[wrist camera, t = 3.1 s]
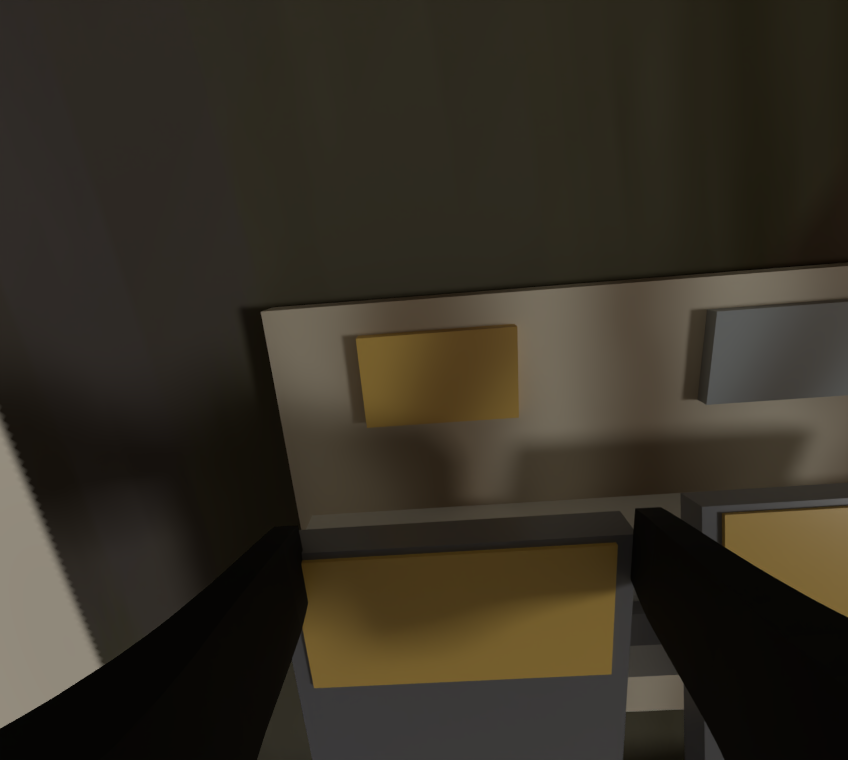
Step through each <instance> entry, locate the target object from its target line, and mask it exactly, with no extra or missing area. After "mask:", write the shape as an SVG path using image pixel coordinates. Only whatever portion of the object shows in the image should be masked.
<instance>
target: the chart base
mask: <svg viewBox="0 0 848 760" xmlns="http://www.w3.org/2000/svg"><path fill="white" fill-rule="evenodd" d="M261 316H262V321H263V327H264V332H265V338H266V343H267V348H268V354H269V359H270V364H271V370H272V375H273V381H274V386H275V391H276V397H277V402H278V407H279V413H280V418H281V424H282V429H283V434H284V440H285V445H286V450H287V456H288V461H289V467H290V472H291V477H292V483H293V488H294V493H295V499H296V504H297V510H298V515H299V520H300V526H301V530H306V528H307V526H308V524H309V521H310V519H311V517H312V515H325V514H342V513H358V512H375V511H391V510H407V509H424V508H440V507H456V506H473V505H489V504H506V503H522V502H538V501H555V500H571V499H588V498H604V497H620V496H637V495H653V494H669V493H686V492H702V491H719V490H735V489H751V488H768V487H784V486H800V485H817V484H833V483H848V263H835V264H822V265H809V266H797V267H784V268H771V269H758V270H746V271H733V272H720V273H707V274H695V275H682V276H669V277H656V278H643V279H631V280H618V281H605V282H592V283H580V284H567V285H554V286H541V287H529V288H516V289H503V290H490V291H478V292H465V293H452V294H439V295H426V296H414V297H401V298H388V299H375V300H363V301H350V302H337V303H324V304H312V305H299V306H286V307H273V308H269V309H267V310H264V311H261ZM678 709H684V683H683V682H682V680H681V678H680V676H679V675H666V676H644V677H628V686H627V702H626V712H632V711H655V710H678Z"/></svg>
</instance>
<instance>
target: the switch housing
mask: <svg viewBox="0 0 848 760" xmlns="http://www.w3.org/2000/svg"><path fill="white" fill-rule="evenodd" d="M833 484H834V483H833ZM800 486H801V485H800ZM784 487H785V486H784ZM751 489H752V488H751ZM702 492H703V491H702ZM652 507H662V508H663V509H665V510H667V511H669V512H670V513H672V514H674V515H675V516H677V517H678V518H680V519H681V498H680V493H669V494H653V495H637V496H620V497H604V498H588V499H571V500H555V501H538V502H522V503H506V504H489V505H473V506H456V507H440V508H424V509H407V510H391V511H375V512H358V513H342V514H325V515H312V517H311V519H310V521H309V524H308V526H307V528H306V530H308V529H325V528H341V527H358V526H375V525H391V524H408V523H425V522H441V521H458V520H475V519H491V518H508V517H525V516H542V515H558V514H575V513H592V512H608V511H620V512H621V513H622V514H623V516H624V517H625V518H626V520H627V521H628V522H629V524H630V525H631V526H632V528H634V516H635V508H652ZM666 675H678V673H677V671H676V669H675V668H674V666H673V664H672V662H671V661H670V659H669V657H668V655H667V653H666V652H665V650H664V648H663V646H662V645H661V643H660V641H659V639H658V637H657V636H656V634H655V632H654V630H653V629H652V627H651V625H650V623H649V621H648V619H647V617H646V615H645V613H644V611H643V608H642V606H641V604H640V601H639V599H638V597H637V594H636V592H635V589H634V591H633V607H632V623H631V639H630V655H629V671H628V677H644V676H666Z"/></svg>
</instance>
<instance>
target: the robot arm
mask: <svg viewBox="0 0 848 760" xmlns="http://www.w3.org/2000/svg"><path fill="white" fill-rule="evenodd" d="M302 551H303V548H302V544H301V539H300V534H299V529H298V526H283V527H274V528H273V529H271V530H270V531H269V532H268V533H267V534H265V535H264V536H263V537H262V538H261V539H260V540H259V541H258V542H257V543H255V544H254V545H253V546H252V547H251V548H250V549H249V550H248V551H247V552H246V553H245V554H243V555H242V556H241V557H240V558H239V559H238V560H237V561H236V562H235V563H233V564H232V565H231V566H230V567H229V568H228V569H227V570H226V571H225V572H223V573H222V574H221V575H220V576H219V577H218V578H217V579H216V580H214V581H213V582H212V583H211V584H210V585H209V586H208V587H206V588H205V589H204V590H203V591H202V592H200V593H199V594H198V595H197V596H196V597H194V598H193V599H192V600H191V601H190V602H188V603H187V604H186V605H185V606H183V607H182V608H181V609H180V610H179V611H177V612H176V613H175V614H174V615H173V616H171V617H170V618H169V619H168V620H166V621H165V622H164V623H162V624H161V625H160V626H159V627H157V628H156V629H155V630H153V631H152V632H151V633H149V634H148V635H147V636H145V637H144V638H142V639H141V640H140V641H138V642H137V643H135V644H134V645H133V646H131V647H130V648H129V649H127V650H126V651H124V652H123V653H122V654H120V655H119V656H117V657H116V658H114V659H113V660H111V661H110V662H108V663H107V664H105V665H104V666H102V667H101V668H99V669H97V670H96V671H94V672H93V673H92V674H90V675H88V676H87V677H85V678H84V679H82V680H80V681H79V682H77V683H76V684H75V685H73V686H71V687H70V688H68V689H66V690H65V691H63V692H62V693H60V694H59V695H57V696H55V697H54V698H52V699H50V700H49V701H47V702H46V703H44V704H42V705H41V706H39V707H37V708H35V709H34V710H32V711H30V712H29V713H27V714H25V715H23V716H22V717H20V718H18V719H16V720H15V721H13V722H11V723H9V724H8V725H6V726H4V727H2V728H0V760H257V757H258V754H259V751H260V748H261V745H262V742H263V739H264V735H265V732H266V730H267V727H268V724H269V721H270V718H271V716H272V713H273V710H274V707H275V705H276V702H277V699H278V696H279V694H280V691H281V688H282V685H283V682H284V680H285V677H286V674H287V671H288V669H289V666H290V663H291V660H292V657H293V655H294V652H295V649H296V646H297V643H298V640H299V637H300V634H301V632H302V627H303V623H304V619H305V615H306V611H307V606H308V598H307V593H306V587H305V582H304V576H303V571H302V565H301V563H302V561H303V560H302V554H301V553H302ZM631 582H632V584H633V587H634V589H635V592H636V594H637V597H638V599H639V601H640V604H641V606H642V608H643V611H644V613H645V615H646V617H647V619H648V621H649V623H650V625H651V627H652V629H653V630H654V632H655V634H656V636H657V637H658V639H659V641H660V643H661V645H662V646H663V648H664V650H665V652H666V653H667V655H668V657H669V659H670V661H671V662H672V664H673V666H674V668H675V669H676V671H677V673H678V675H679V676H680V678H681V680H682V682H683V683H684V685H685V687H686V689H687V690H688V692H689V694H690V696H691V697H692V699H693V701H694V703H695V704H696V706H697V708H698V710H699V711H700V713H701V715H702V717H703V718H704V720H705V722H706V724H707V726H708V728H709V730H710V732H711V734H712V735H713V737H714V739H715V741H716V743H717V745H718V747H719V749H720V751H721V754H722V756H723V758H724V760H848V617H846V616H844V615H842V614H840V613H838V612H836V611H834V610H832V609H830V608H829V607H827V606H825V605H823V604H821V603H819V602H817V601H815V600H814V599H812V598H810V597H808V596H806V595H804V594H803V593H801V592H799V591H797V590H796V589H794V588H792V587H790V586H789V585H787V584H785V583H783V582H782V581H780V580H778V579H776V578H775V577H773V576H771V575H769V574H768V573H766V572H764V571H763V570H761V569H759V568H758V567H756V566H754V565H753V564H751V563H749V562H748V561H746V560H745V559H743V558H741V557H740V556H738V555H737V554H735V553H733V552H732V551H730V550H729V549H727V548H725V547H724V546H722V545H721V544H719V543H718V542H716V541H714V540H713V539H711V538H710V537H708V536H707V535H705V534H704V533H702V532H700V531H699V530H697V529H696V528H694V527H693V526H691V525H690V524H688V523H686V522H685V521H683V520H682V519H680V518H678V517H677V516H675V515H674V514H672V513H670V512H669V511H667V510H665V509H663V508H662V507H652V508H635V516H634V528H633V546H632V562H631Z"/></svg>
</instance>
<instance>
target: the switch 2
mask: <svg viewBox="0 0 848 760" xmlns="http://www.w3.org/2000/svg"><path fill="white" fill-rule="evenodd" d="M680 498H681V519H682V520H683V521H685V522H686V523H688V524H690V525H691V526H693V527H694V528H696V529H697V530H699V531H700V532H702V533H704V534H705V535H707V536H708V537H710V538H711V539H713V540H714V541H716V542H718V543H719V544H721V545H722V546H724V547H725V548H727V549H729V550H730V551H732V552H733V553H735V554H737V555H738V556H740V557H741V558H743V559H745V560H746V561H748V562H749V563H751V564H753V565H754V566H756V567H758V568H759V569H761V570H763V571H764V572H766V573H768V574H769V575H771V576H773V577H775V578H776V579H778V580H780V581H782V582H783V583H785V584H787V585H789V586H790V587H792V588H794V589H796V590H797V591H799V592H801V593H803V594H804V595H806V596H808V597H810V598H812V599H814V600H815V601H817V602H819V603H821V604H823V605H825V606H827V607H829V608H830V609H832V610H834V611H836V612H838V613H840V614H842V615H844V616H846V617H848V483H834V484H817V485H801V486H785V487H768V488H752V489H735V490H719V491H703V492H686V493H680ZM684 742H685V760H724V758H723V756H722V754H721V751H720V749H719V747H718V745H717V743H716V741H715V739H714V737H713V735H712V734H711V732H710V730H709V728H708V726H707V724H706V722H705V720H704V718H703V717H702V715H701V713H700V711H699V710H698V708H697V706H696V704H695V703H694V701H693V699H692V697H691V696H690V694H689V692H688V690H687V689H686V687H685V685H684Z"/></svg>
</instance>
